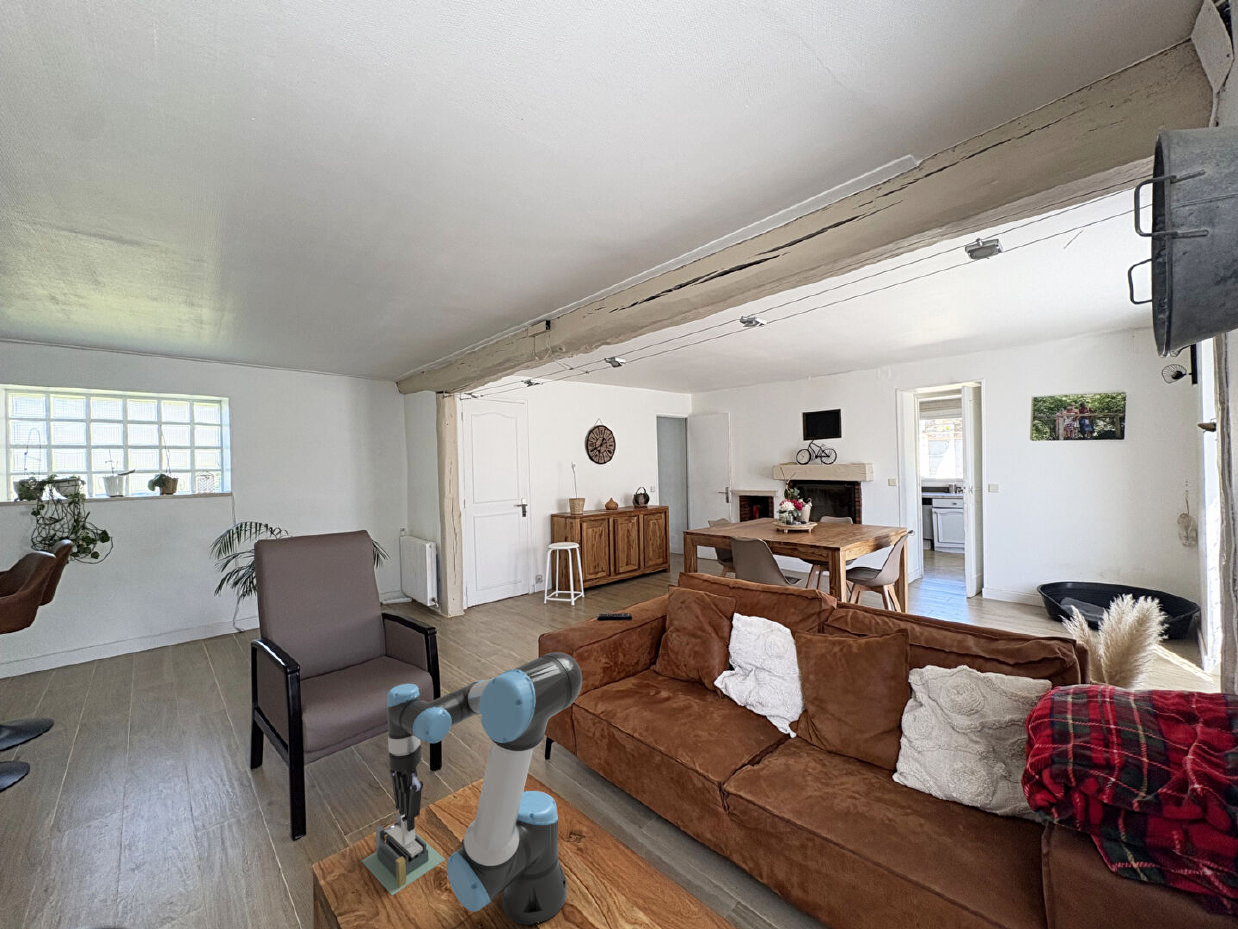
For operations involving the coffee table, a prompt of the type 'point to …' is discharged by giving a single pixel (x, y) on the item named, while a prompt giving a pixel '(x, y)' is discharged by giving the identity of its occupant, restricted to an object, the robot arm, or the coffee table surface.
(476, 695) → the robot arm
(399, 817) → the pivot bracket
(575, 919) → the coffee table surface
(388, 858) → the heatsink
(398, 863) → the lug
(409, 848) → the grey flat bar
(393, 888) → the board
